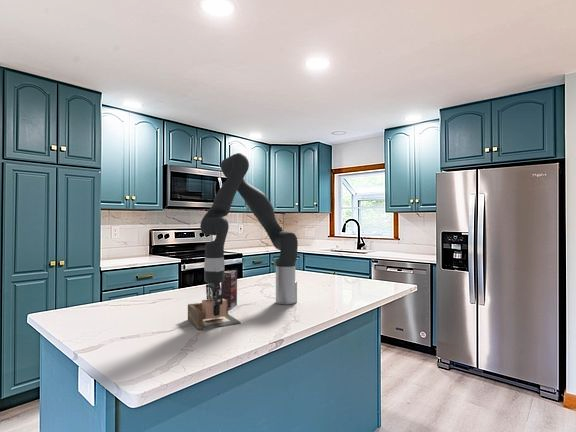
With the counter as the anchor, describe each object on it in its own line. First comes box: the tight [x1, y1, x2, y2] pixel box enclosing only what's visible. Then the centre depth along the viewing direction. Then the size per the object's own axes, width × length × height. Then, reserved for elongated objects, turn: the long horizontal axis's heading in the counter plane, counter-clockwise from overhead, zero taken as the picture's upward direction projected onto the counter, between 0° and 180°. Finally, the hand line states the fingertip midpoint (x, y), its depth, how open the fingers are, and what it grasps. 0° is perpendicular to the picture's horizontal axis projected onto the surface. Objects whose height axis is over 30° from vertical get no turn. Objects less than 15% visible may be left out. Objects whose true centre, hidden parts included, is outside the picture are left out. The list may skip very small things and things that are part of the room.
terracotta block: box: [201, 299, 226, 319], centre depth 137 cm, size 5×8×6 cm, turn 120°
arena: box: [187, 300, 242, 331], centre depth 137 cm, size 16×15×6 cm
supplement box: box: [220, 269, 238, 311], centre depth 159 cm, size 9×5×16 cm, turn 168°
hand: (214, 313), depth 137 cm, fingers closed on terracotta block, 5 cm apart
